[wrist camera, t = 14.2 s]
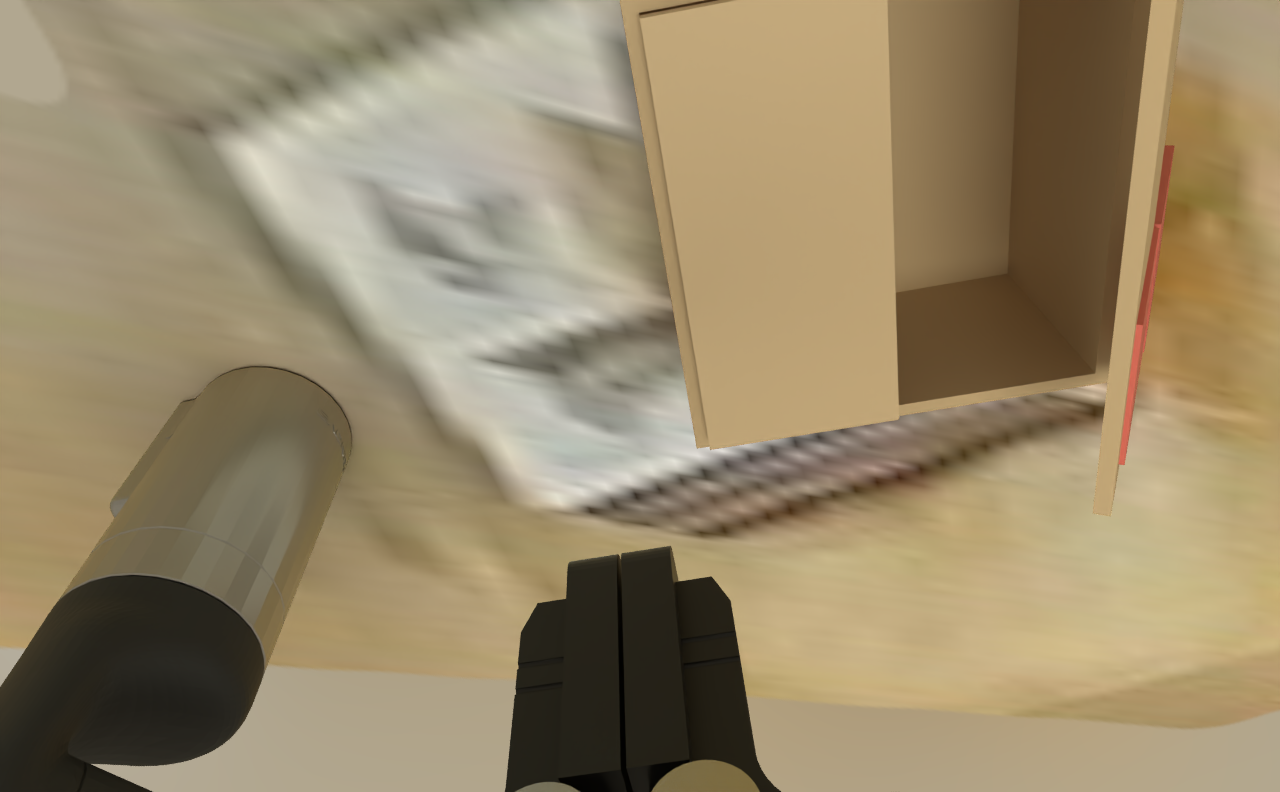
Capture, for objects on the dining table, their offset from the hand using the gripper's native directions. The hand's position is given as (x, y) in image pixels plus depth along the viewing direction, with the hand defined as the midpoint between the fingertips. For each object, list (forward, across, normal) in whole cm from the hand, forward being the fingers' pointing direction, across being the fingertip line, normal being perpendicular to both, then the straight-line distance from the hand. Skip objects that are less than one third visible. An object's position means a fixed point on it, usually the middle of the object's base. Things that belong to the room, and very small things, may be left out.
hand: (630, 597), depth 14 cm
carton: (+37, -10, +6) cm, 39 cm away
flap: (+25, -20, +6) cm, 33 cm away
